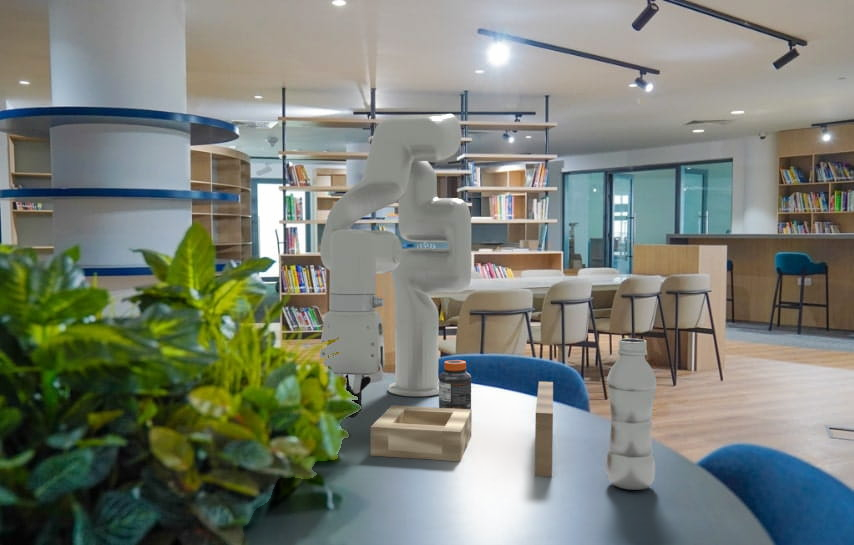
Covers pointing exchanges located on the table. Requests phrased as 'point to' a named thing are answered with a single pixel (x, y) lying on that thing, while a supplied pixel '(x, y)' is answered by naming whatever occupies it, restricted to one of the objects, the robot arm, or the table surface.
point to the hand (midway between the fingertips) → (351, 415)
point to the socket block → (422, 433)
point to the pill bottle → (455, 386)
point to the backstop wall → (544, 429)
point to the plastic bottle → (631, 417)
